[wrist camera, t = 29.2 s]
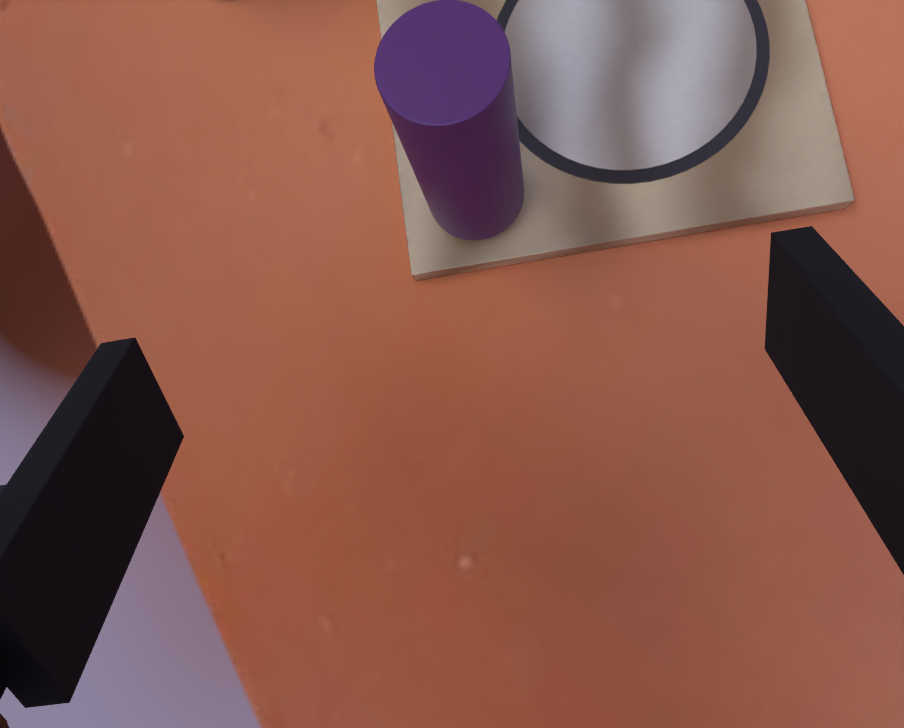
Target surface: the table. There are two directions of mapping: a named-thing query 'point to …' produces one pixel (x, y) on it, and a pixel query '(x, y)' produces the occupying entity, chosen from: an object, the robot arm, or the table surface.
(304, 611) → the table surface
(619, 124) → the board
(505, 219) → the purple cylinder
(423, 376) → the table surface
